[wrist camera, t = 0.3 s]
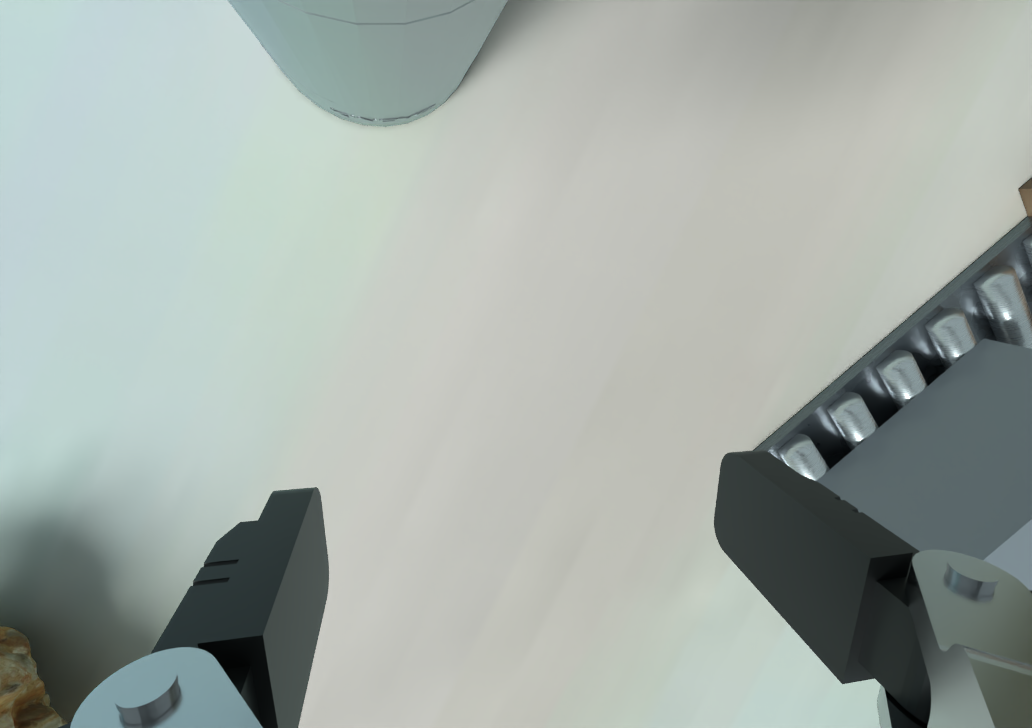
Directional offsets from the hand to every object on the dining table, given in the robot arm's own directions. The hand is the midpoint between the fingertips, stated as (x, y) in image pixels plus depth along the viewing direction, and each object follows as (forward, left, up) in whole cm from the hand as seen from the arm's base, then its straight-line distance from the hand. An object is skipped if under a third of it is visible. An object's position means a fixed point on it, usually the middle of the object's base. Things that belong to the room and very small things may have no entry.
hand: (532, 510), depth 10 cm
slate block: (+11, +28, -16) cm, 34 cm away
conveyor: (+9, +31, -18) cm, 37 cm away
